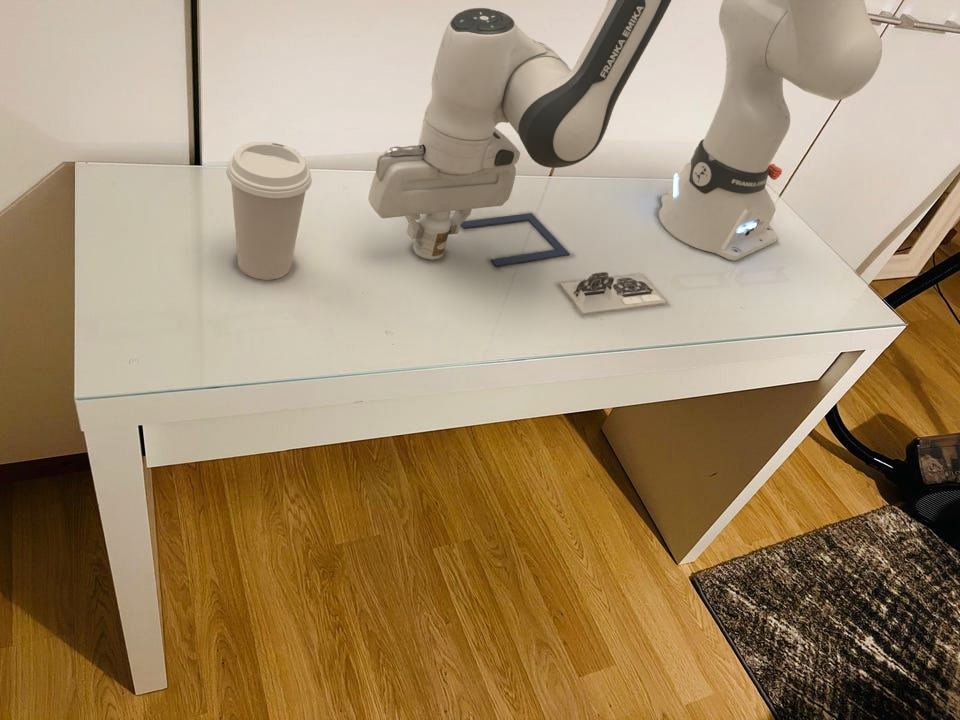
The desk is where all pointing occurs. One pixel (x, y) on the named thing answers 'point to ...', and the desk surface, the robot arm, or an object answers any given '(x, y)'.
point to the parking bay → (522, 258)
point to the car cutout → (611, 293)
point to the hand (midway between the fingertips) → (432, 234)
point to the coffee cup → (267, 206)
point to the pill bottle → (433, 235)
